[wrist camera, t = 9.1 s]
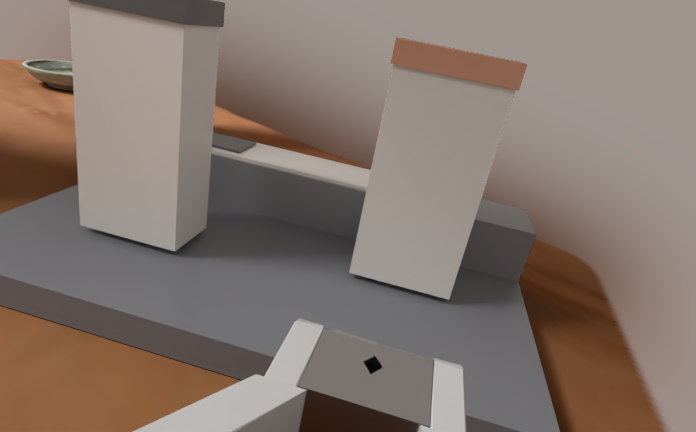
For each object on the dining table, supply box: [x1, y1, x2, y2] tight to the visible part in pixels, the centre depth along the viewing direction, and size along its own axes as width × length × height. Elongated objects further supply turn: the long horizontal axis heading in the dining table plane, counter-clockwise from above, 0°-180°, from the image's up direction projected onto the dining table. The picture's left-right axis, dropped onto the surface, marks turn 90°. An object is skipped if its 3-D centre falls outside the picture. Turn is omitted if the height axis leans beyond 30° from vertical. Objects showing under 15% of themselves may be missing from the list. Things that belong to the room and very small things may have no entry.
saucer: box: [22, 59, 74, 91], centre depth 55 cm, size 10×10×2 cm
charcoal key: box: [69, 0, 225, 251], centre depth 21 cm, size 3×5×11 cm, turn 78°
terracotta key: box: [349, 38, 527, 300], centre depth 22 cm, size 3×5×11 cm, turn 78°
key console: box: [0, 132, 560, 432], centre depth 24 cm, size 26×16×5 cm, turn 78°
